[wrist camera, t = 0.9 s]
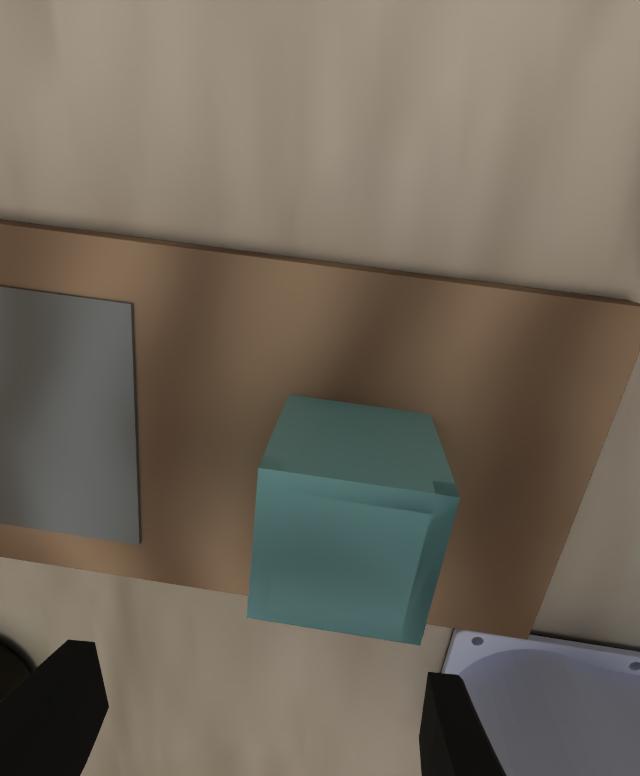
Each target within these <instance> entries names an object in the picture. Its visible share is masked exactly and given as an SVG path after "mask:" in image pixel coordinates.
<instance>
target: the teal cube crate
mask: <svg viewBox="0 0 640 776" xmlns="http://www.w3.org/2000/svg"><path fill="white" fill-rule="evenodd" d="M459 501H460V495H459V492H458V490H457V487H456V484H455V481H454V478H453V476H452V473H451V470H450V467H449V464H448V462H447V459H446V456H445V453H444V451H443V448H442V445H441V442H440V439H439V437H438V434H437V431H436V428H435V425H434V423H433V420H432V417H431V414H425V413H418V412H411V411H404V410H397V409H390V408H382V407H375V406H368V405H361V404H354V403H347V402H340V401H333V400H325V399H318V398H311V397H304V396H297V395H290V394H288V397H287V399H286V401H285V404H284V406H283V409H282V411H281V414H280V416H279V419H278V421H277V423H276V426H275V428H274V431H273V433H272V436H271V438H270V440H269V443H268V445H267V448H266V450H265V453H264V455H263V458H262V460H261V462H260V465H259V467H258V478H257V491H256V504H255V517H254V530H253V543H252V556H251V569H250V582H249V595H248V608H247V618H252V619H258V620H265V621H271V622H277V623H283V624H290V625H296V626H302V627H308V628H315V629H321V630H327V631H333V632H340V633H346V634H352V635H359V636H365V637H371V638H377V639H384V640H390V641H396V642H402V643H409V644H415V645H420V644H421V640H422V637H423V633H424V629H425V626H426V622H427V618H428V615H429V611H430V607H431V604H432V600H433V596H434V593H435V589H436V585H437V582H438V578H439V574H440V571H441V567H442V563H443V559H444V556H445V552H446V548H447V545H448V541H449V537H450V534H451V530H452V526H453V523H454V519H455V515H456V512H457V508H458V504H459Z"/></svg>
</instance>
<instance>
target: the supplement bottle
mask: <svg viewBox="0 0 640 776" xmlns="http://www.w3.org/2000/svg"><path fill="white" fill-rule="evenodd" d="M30 674H31V673H30V671H29V669H28V668H27V667H26V665H25V664H24V663H23V662H22V661H21V660H20V659H19V658H18V657H17V656H16V655H15V654H13V653H12V652H11V651H9V650H8V649H6V648H5V647H3V646H2V645H0V701H1V700H2V699H3V698H4V697H6V696H7V695H8V694H9V693H10V692H11V691H12V690H13V689H14V688H15V687H17V686H18V685H19V684H20V683H21V682H22V681H23V680H24V679H25V678H26V677H28V676H29V675H30Z"/></svg>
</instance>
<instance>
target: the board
mask: <svg viewBox="0 0 640 776" xmlns="http://www.w3.org/2000/svg"><path fill="white" fill-rule="evenodd" d="M639 351H640V304H639V303H635V302H632V301H629V300H621V299H613V298H605V297H598V296H590V295H582V294H574V293H567V292H559V291H551V290H543V289H536V288H528V287H520V286H512V285H505V284H497V283H489V282H481V281H474V280H466V279H458V278H450V277H442V276H435V275H427V274H419V273H411V272H404V271H396V270H388V269H380V268H373V267H365V266H357V265H349V264H342V263H334V262H326V261H318V260H311V259H303V258H295V257H287V256H280V255H272V254H264V253H256V252H249V251H241V250H233V249H225V248H218V247H210V246H202V245H194V244H186V243H179V242H171V241H163V240H155V239H148V238H140V237H132V236H124V235H117V234H109V233H101V232H93V231H86V230H78V229H70V228H62V227H55V226H47V225H39V224H31V223H24V222H16V221H8V220H0V557H6V558H12V559H18V560H25V561H31V562H37V563H44V564H50V565H56V566H63V567H69V568H75V569H82V570H88V571H94V572H101V573H107V574H113V575H120V576H126V577H132V578H139V579H145V580H151V581H158V582H164V583H170V584H177V585H183V586H189V587H196V588H202V589H208V590H215V591H221V592H227V593H234V594H240V595H246V596H248V595H249V582H250V569H251V556H252V543H253V530H254V517H255V504H256V491H257V478H258V467H259V465H260V462H261V460H262V458H263V455H264V453H265V450H266V448H267V445H268V443H269V440H270V438H271V436H272V433H273V431H274V428H275V426H276V423H277V421H278V419H279V416H280V414H281V411H282V409H283V406H284V404H285V401H286V399H287V397H288V394H290V395H297V396H304V397H311V398H318V399H325V400H333V401H340V402H347V403H354V404H361V405H368V406H375V407H382V408H390V409H397V410H404V411H411V412H418V413H425V414H431V417H432V420H433V423H434V425H435V428H436V431H437V434H438V437H439V439H440V442H441V445H442V448H443V451H444V453H445V456H446V459H447V462H448V464H449V467H450V470H451V473H452V476H453V478H454V481H455V484H456V487H457V490H458V492H459V495H460V501H459V504H458V508H457V512H456V515H455V519H454V523H453V526H452V530H451V534H450V537H449V541H448V545H447V548H446V552H445V556H444V559H443V563H442V567H441V571H440V574H439V578H438V582H437V585H436V589H435V593H434V596H433V600H432V604H431V607H430V611H429V615H428V618H427V622H426V624H430V625H436V626H443V627H449V628H455V629H462V630H468V631H474V632H481V633H487V634H493V635H500V636H506V637H512V638H519V639H525V640H528V637H529V634H530V632H531V629H532V627H533V624H534V622H535V619H536V616H537V614H538V611H539V609H540V606H541V604H542V601H543V598H544V596H545V593H546V591H547V588H548V586H549V583H550V580H551V578H552V575H553V573H554V570H555V568H556V565H557V562H558V560H559V557H560V555H561V552H562V550H563V547H564V544H565V542H566V539H567V537H568V534H569V532H570V529H571V526H572V524H573V521H574V519H575V516H576V514H577V511H578V508H579V506H580V503H581V501H582V498H583V496H584V493H585V490H586V488H587V485H588V483H589V480H590V477H591V475H592V472H593V470H594V467H595V465H596V462H597V459H598V457H599V454H600V452H601V449H602V447H603V444H604V441H605V439H606V436H607V434H608V431H609V429H610V426H611V423H612V421H613V418H614V416H615V413H616V411H617V408H618V405H619V403H620V400H621V398H622V395H623V393H624V390H625V387H626V385H627V382H628V380H629V377H630V375H631V372H632V369H633V367H634V364H635V362H636V359H637V357H638V354H639Z"/></svg>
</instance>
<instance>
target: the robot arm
mask: <svg viewBox="0 0 640 776" xmlns="http://www.w3.org/2000/svg"><path fill="white" fill-rule="evenodd" d="M475 637H478V638H475ZM108 708H109V705H108V700H107V696H106V691H105V687H104V682H103V678H102V673H101V668H100V664H99V659H98V655H97V650H96V646H95V642H88V641H77V640H67V641H66V642H65V643H64V644H63V645H62V646H61V647H59V648H58V649H57V650H56V651H55V652H54V653H53V654H52V655H51V656H49V657H48V658H47V659H46V660H45V661H44V662H43V663H42V664H41V665H40V666H38V667H37V668H36V669H35V670H34V671H33V672H32V673H31V674H30V675H29V676H28V677H26V678H25V679H24V680H23V681H22V682H21V683H20V684H19V685H18V686H17V687H15V688H14V689H13V690H12V691H11V692H10V693H9V694H8V695H7V696H6V697H4V698H3V699H2V700H1V701H0V776H80V774H81V772H82V770H83V768H84V766H85V764H86V762H87V760H88V757H89V755H90V753H91V750H92V748H93V745H94V743H95V741H96V738H97V736H98V733H99V731H100V728H101V726H102V723H103V720H104V718H105V715H106V713H107V710H108ZM419 744H420V758H421V772H422V776H640V652H638V651H631V650H625V649H618V648H612V647H606V646H599V645H593V644H587V643H580V642H574V641H568V640H561V639H555V638H549V637H542V636H536V635H530V634H529V637H528V640H525V639H519V638H512V637H506V636H500V635H493V634H487V633H481V632H474V631H468V630H462V629H455V630H454V632H453V635H452V639H451V642H450V645H449V649H448V652H447V655H446V658H445V662H444V665H443V668H442V672H441V673H434V672H428V677H427V684H426V691H425V699H424V706H423V713H422V720H421V727H420V735H419Z"/></svg>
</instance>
